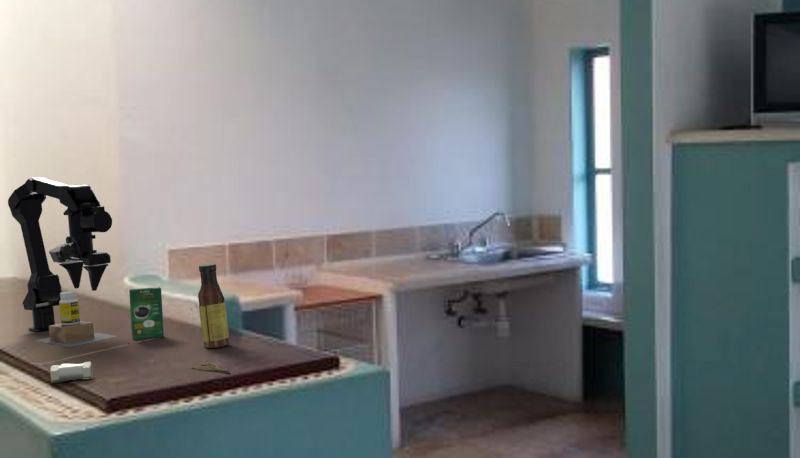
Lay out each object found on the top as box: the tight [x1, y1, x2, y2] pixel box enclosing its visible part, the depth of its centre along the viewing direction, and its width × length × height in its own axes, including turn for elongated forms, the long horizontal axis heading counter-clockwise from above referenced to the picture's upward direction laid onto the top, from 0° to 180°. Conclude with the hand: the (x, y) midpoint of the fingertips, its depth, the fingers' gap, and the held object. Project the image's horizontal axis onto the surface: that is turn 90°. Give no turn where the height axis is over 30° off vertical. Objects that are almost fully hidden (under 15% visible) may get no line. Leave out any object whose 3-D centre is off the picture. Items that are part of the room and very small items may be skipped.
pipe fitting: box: [50, 361, 94, 384], centre depth 196 cm, size 8×4×7 cm
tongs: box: [191, 362, 231, 374], centre depth 196 cm, size 4×13×2 cm, turn 48°
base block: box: [48, 320, 95, 343], centre depth 240 cm, size 8×8×4 cm
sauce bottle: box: [197, 263, 230, 349], centre depth 221 cm, size 6×6×20 cm
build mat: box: [33, 332, 118, 348], centre depth 241 cm, size 18×14×1 cm
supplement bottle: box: [59, 290, 81, 325], centre depth 240 cm, size 5×5×8 cm
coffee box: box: [128, 286, 165, 340], centre depth 237 cm, size 8×3×13 cm, turn 110°
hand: (85, 289), depth 248 cm, fingers open, 9 cm apart
